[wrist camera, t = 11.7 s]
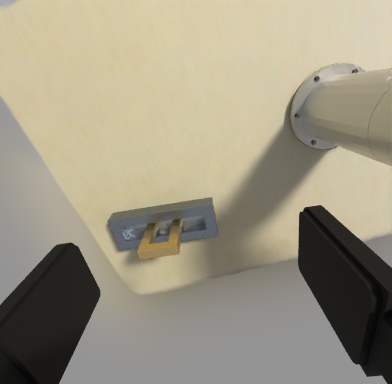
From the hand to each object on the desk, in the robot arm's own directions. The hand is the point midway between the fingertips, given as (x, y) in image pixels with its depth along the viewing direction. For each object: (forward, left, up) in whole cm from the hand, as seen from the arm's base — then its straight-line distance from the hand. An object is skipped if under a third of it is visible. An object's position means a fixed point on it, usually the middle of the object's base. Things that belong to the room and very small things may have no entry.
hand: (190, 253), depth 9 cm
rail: (+9, +16, -30) cm, 35 cm away
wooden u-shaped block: (+9, +16, -30) cm, 35 cm away
